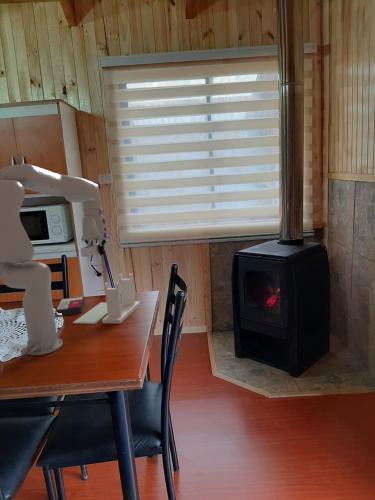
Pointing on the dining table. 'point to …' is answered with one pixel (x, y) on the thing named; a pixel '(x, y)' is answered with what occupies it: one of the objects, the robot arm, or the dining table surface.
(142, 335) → the dining table surface
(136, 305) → the rack
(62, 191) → the robot arm
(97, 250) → the rail
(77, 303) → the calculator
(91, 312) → the mat
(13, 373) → the dining table surface
